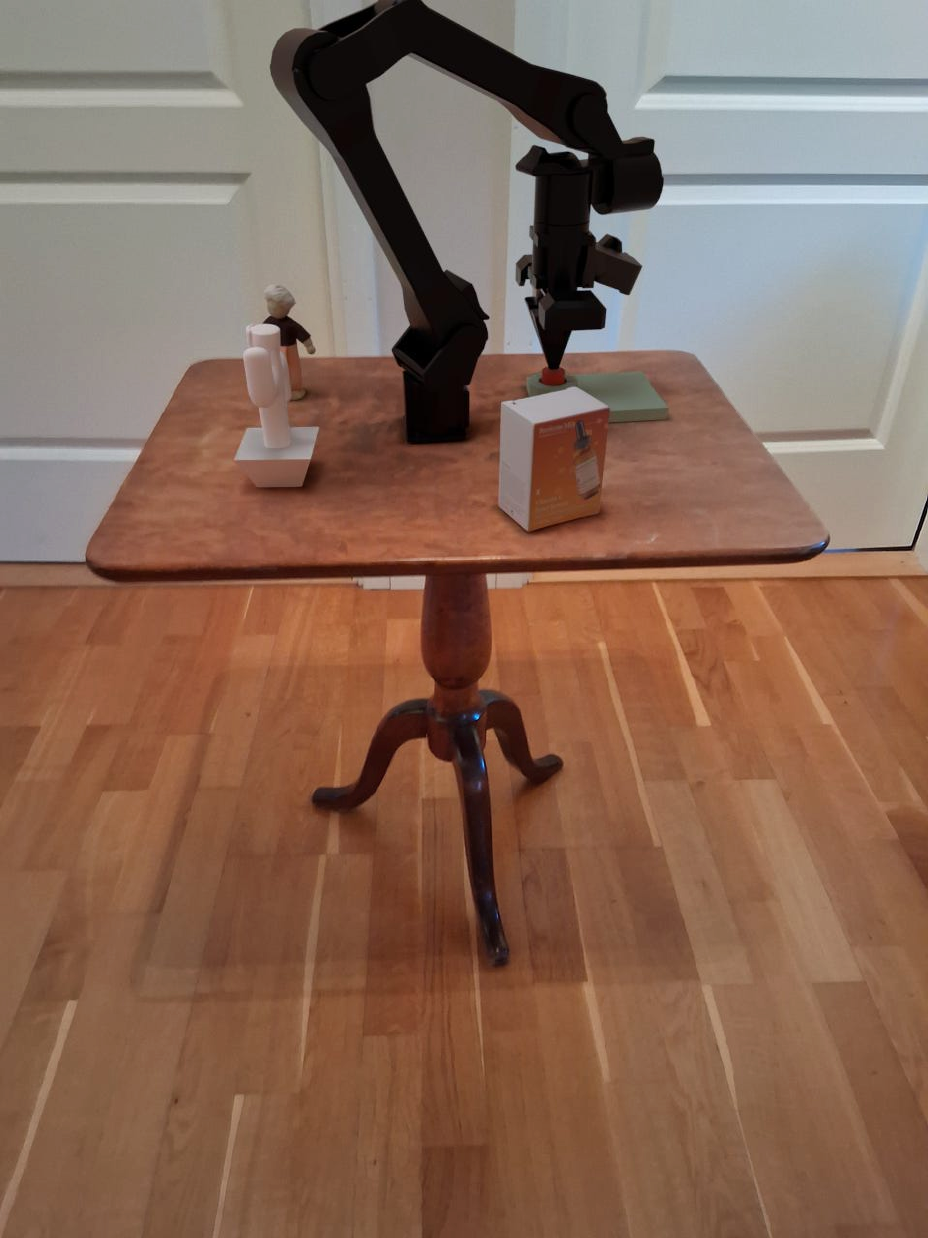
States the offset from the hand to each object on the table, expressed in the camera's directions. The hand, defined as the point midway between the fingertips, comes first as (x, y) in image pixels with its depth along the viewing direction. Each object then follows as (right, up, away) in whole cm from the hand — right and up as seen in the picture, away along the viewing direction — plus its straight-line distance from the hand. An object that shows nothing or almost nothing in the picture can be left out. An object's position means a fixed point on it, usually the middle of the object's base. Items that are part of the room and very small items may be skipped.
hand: (553, 368), depth 100 cm
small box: (-2, -18, -17) cm, 25 cm away
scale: (+5, -3, +3) cm, 7 cm away
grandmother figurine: (-31, -2, +6) cm, 31 cm away
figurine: (-28, -14, -11) cm, 33 cm away
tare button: (0, -1, +1) cm, 2 cm away
